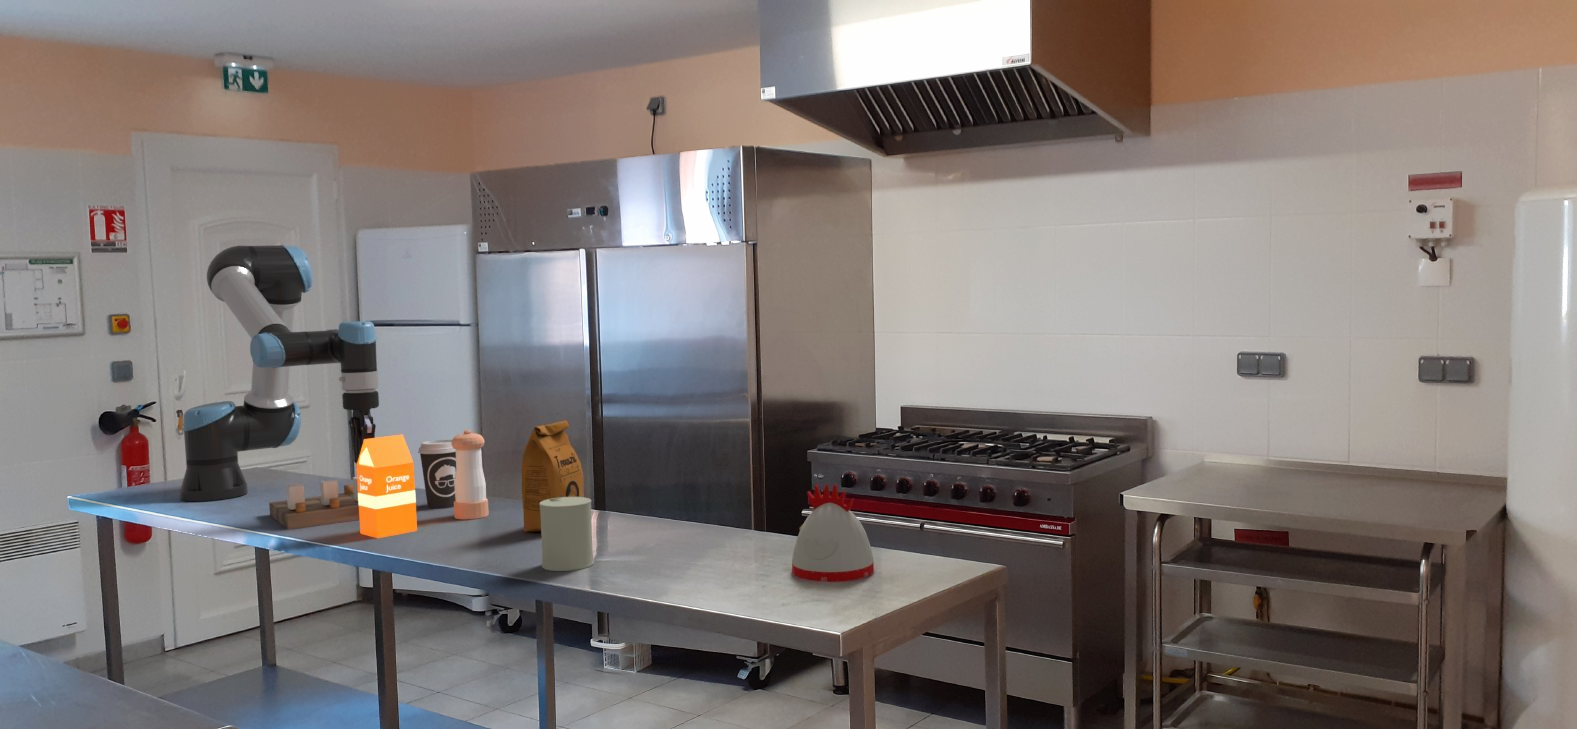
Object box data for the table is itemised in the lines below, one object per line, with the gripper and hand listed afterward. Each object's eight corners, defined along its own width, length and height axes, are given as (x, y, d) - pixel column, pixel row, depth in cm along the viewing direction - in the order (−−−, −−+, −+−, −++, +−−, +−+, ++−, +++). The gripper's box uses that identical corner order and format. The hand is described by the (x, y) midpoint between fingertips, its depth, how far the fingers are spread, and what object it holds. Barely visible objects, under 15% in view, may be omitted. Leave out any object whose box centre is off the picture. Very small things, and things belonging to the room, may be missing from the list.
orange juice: (359, 533, 234) (354, 438, 233) (399, 525, 240) (394, 433, 239) (378, 538, 229) (372, 440, 227) (418, 530, 235) (412, 435, 234)
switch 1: (287, 507, 247) (286, 485, 246) (302, 505, 248) (301, 483, 248) (290, 509, 244) (289, 486, 244) (305, 507, 246) (304, 485, 246)
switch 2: (321, 503, 251) (320, 481, 251) (335, 501, 253) (334, 479, 252) (324, 505, 248) (323, 482, 248) (338, 503, 250) (337, 481, 250)
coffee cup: (469, 501, 266) (466, 438, 265) (454, 509, 257) (450, 444, 256) (431, 502, 267) (427, 439, 266) (413, 510, 258) (410, 445, 257)
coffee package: (593, 524, 237) (589, 420, 235) (555, 536, 226) (550, 427, 224) (556, 520, 241) (551, 418, 240) (516, 532, 230) (511, 425, 229)
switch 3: (353, 499, 255) (352, 477, 255) (367, 497, 257) (366, 475, 256) (357, 501, 252) (356, 478, 252) (371, 499, 254) (369, 477, 254)
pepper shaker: (447, 518, 247) (443, 431, 245) (468, 512, 253) (464, 427, 252) (474, 520, 244) (470, 432, 243) (495, 513, 251) (491, 428, 249)
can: (571, 556, 208) (568, 492, 207) (604, 562, 202) (602, 496, 202) (531, 566, 201) (528, 500, 200) (564, 574, 195) (561, 505, 194)
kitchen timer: (810, 559, 201) (808, 475, 200) (884, 564, 196) (882, 478, 195) (780, 578, 188) (777, 489, 187) (857, 584, 183) (855, 493, 182)
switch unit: (270, 515, 256) (268, 493, 256) (360, 503, 268) (359, 482, 268) (288, 529, 240) (287, 506, 240) (384, 516, 252) (383, 494, 251)
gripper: (335, 390, 253) (341, 494, 255) (350, 394, 242) (356, 502, 244) (369, 387, 257) (375, 489, 259) (385, 391, 247) (391, 497, 248)
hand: (366, 495), depth 252 cm, fingers closed
